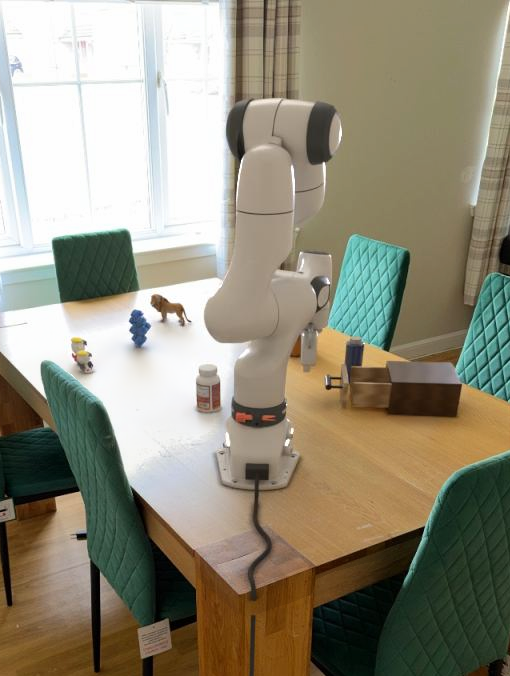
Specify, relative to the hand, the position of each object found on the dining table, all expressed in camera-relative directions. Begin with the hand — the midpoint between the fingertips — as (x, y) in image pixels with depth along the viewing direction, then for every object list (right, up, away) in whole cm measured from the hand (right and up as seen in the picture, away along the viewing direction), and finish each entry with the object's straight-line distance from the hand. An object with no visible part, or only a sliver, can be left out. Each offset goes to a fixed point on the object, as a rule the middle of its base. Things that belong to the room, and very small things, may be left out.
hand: (306, 370), depth 191 cm
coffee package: (+2, +13, +38) cm, 40 cm away
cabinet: (+29, -9, +1) cm, 30 cm away
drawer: (+15, -7, +2) cm, 17 cm away
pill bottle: (-25, -10, +1) cm, 27 cm away
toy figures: (-62, +6, +27) cm, 68 cm away
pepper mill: (+15, 0, +16) cm, 21 cm away
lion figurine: (-38, +28, +63) cm, 79 cm away
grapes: (-46, +16, +42) cm, 64 cm away
